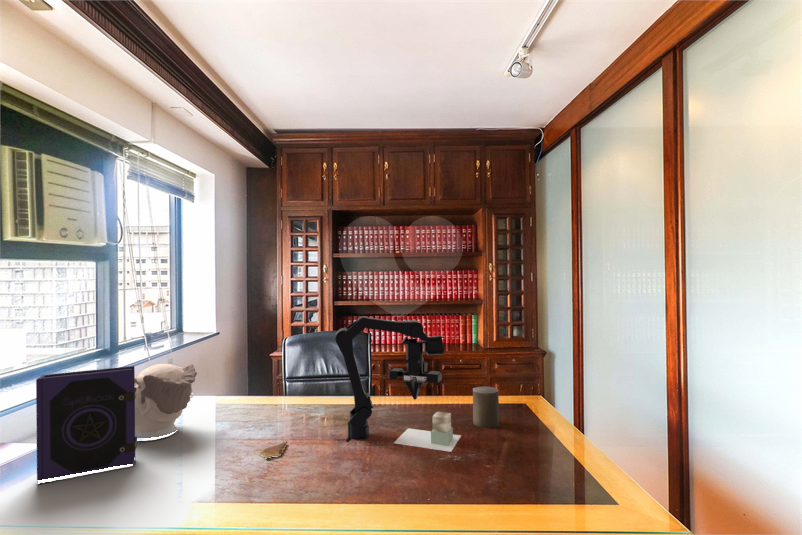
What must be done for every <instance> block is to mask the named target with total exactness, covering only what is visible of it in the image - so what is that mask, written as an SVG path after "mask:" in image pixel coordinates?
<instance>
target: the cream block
mask: <svg viewBox="0 0 802 535" xmlns="http://www.w3.org/2000/svg"><path fill="white" fill-rule="evenodd" d="M451 427H452V413H451V412H444V411H443V412H442V411H436V412H434V414H433V415H432V430H433V431H436V432H443V433H447V432H448V431H449V430H450V429H451Z"/></svg>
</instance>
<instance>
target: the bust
mask: <svg viewBox="0 0 802 535" xmlns="http://www.w3.org/2000/svg"><path fill="white" fill-rule="evenodd" d="M197 374H198V372H197V371H196V369H195V367H194V364H189V365H188V366H185V367H181V366H178V365H174V364H170V363H157V364H154V365H151V366H149V367H146V368H145V369H144V370H142V371H141V372H139V373H138V374H137V375H136V376H135V387H137V395H136V398H135V437H136V436H137V438H151V437H159V436H163V435H167V434H170V433H172V432H175V431H176V430H177V428H178V427H177V426H176V425H175V422H176V420H177V419H179V417H180V416H181V415H182V413H183V410H185V409H186V408H187V406H188V404H189V402H191V395H192V393H193V387H192V384H193V383H195V380H196V376H198V375H197Z"/></svg>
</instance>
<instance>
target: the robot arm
mask: <svg viewBox="0 0 802 535" xmlns="http://www.w3.org/2000/svg"><path fill="white" fill-rule="evenodd" d="M365 329H370V330H376V331H385V332H393V333H397V334H400V335H404V338H403V339H402V340H401V341H400V343H401V344H402V345H406V359H405V363H406V371H405V370H404V368H402V367H401V368H399V367H398V368H397V367H394V368H392V369H390V370H389V371H388V379H389V380H397V379H398V378H399V377H401V378H403V380H402V383H405V385H406V386H407V388H408V390H409V392H410V394H411V397H412V398H413V400H417V399H418V396H419V394H420V390H421V387H422V385H423V384H424V383H425V382H426V381H427V382H428V383H429V384H431V383H432V384H437V383H438V384H439V383H440V382H441V381H442V380H443V375H442V372H441V371H437V370H429V372H428V362H426V361H425V360H424V359H425V358H424V357H423V356H424V355H423V353H426V355H427V356H441V355H442V356H443V355H444V353H445V345H444V341H443V336H442V335H435V336H428V335H427V334H426V333H425V331H424V327H423V324H422V323H421V322H419V321H417V320H415V319H411V320H410V319H407V320H397V321H396V320H391V319H385V318H383V319H382V318H375V317H374V318H373V317H367V316H362V315H361V316H359V318H358V319H357V320H355V321H354V322H351V323H350V324H349V325H347V327H342V328H339V329H338V330H337V331H336V333H335V342H336V345H337V347H338V349H339V351H340V353H341V355H342V356H343V361H344V363H345V366H346V367H345V368H346V370H347V375H348V378H349V382H350V385H351V389H352V392H353V393H352V394H353V399H354V400H353V401H354V407H353V408H352V409H350V411H349V412H348V414H349V415H348V416H349V421H347V438H346V439H345V441H346V442H350V441H351V440H356V441H359V440H367V439H369V437H370V426H369V425H368V422H369V421H368V419H369V418H370V417H371V415H372V414H373V409H374V405H373V401H372V400H371V395H370V392H366V391H365V390H364V386H363V383H362V380H361V379H362V378H361V375H360V372H359V368H358V364H357V360H356V357H355V354H354V345H353V344H354V343H353V339H354V338H356V337H357V336H358V335H359V334H360V333H361V332H363V331H364V330H365ZM408 337H410V338H408ZM417 339H419V340H417ZM425 372H426V373H425Z"/></svg>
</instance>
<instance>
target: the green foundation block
mask: <svg viewBox="0 0 802 535" xmlns="http://www.w3.org/2000/svg"><path fill="white" fill-rule="evenodd" d="M453 428H454V427H452V426H451V429H450V430H449V431H448V432H447V433H443V432H436V431H433V429H431V443H432V444H439V445H446V446H449V444H450V443H451V441H452V440H453V434H454V429H453Z"/></svg>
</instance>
